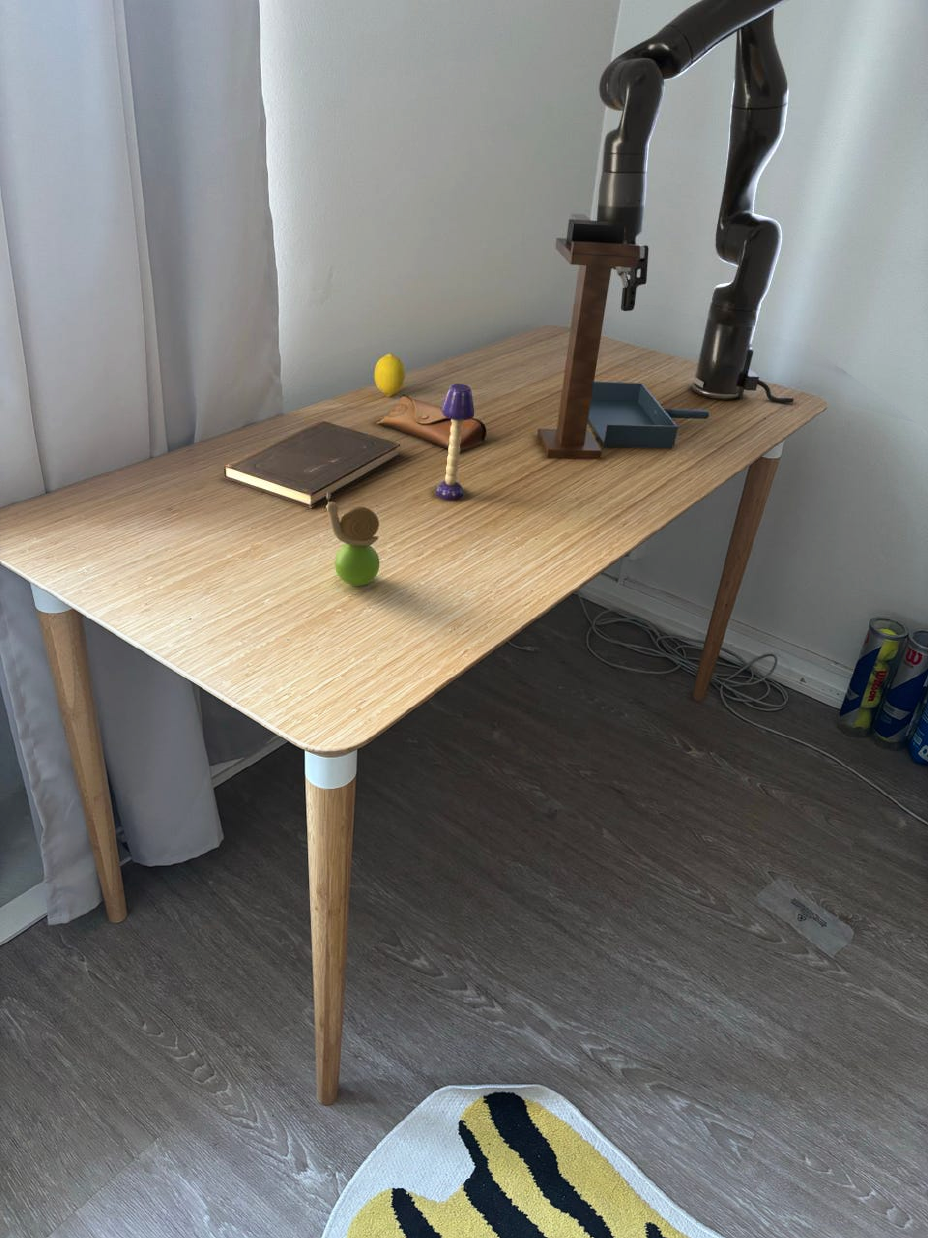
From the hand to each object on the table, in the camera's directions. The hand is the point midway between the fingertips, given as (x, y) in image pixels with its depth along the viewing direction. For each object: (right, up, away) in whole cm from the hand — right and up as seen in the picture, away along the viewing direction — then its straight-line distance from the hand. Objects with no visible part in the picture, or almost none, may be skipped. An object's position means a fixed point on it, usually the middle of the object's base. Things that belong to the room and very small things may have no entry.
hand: (612, 305), depth 158 cm
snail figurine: (-39, -49, -43) cm, 76 cm away
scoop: (+8, -18, +10) cm, 22 cm away
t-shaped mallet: (-6, +6, -13) cm, 16 cm away
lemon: (-39, -13, +12) cm, 43 cm away
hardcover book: (-48, -30, -16) cm, 59 cm away
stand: (-8, -24, -1) cm, 25 cm away
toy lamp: (-27, -35, -20) cm, 49 cm away
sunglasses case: (-31, -22, -1) cm, 38 cm away
